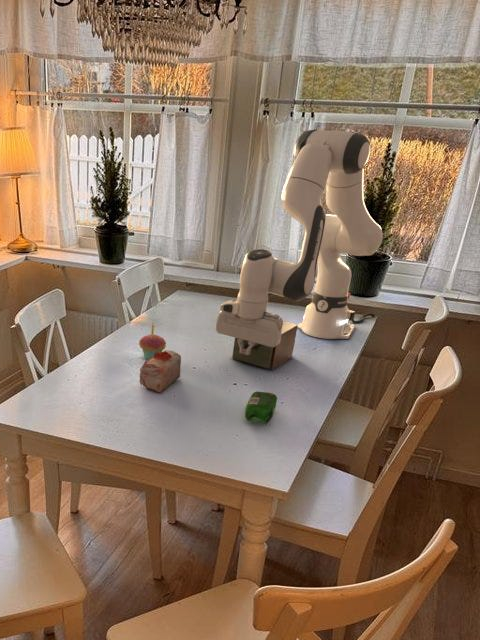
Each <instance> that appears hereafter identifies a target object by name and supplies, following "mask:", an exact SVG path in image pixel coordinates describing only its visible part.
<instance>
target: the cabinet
mask: <svg viewBox="0 0 480 640" xmlns="http://www.w3.org/2000/svg"><path fill="white" fill-rule="evenodd" d="M298 328H299V327H298V324H295V323H292V322H286V321H284V320H283V326H282V329H281V341H280V343H279V344H278V345H277V346H275V347H273V352H272V358H271V364H270V367H269V368H266V367H262V366H259V365H255V364H252V363H248V362H245V361H241V360H238V359H234V358H232V360H235V361H239V362H242V363H245V364H249V365H253V366H257V367H260V368H263V369H266V370H269V371H273V370H274V369H276V368H277V367H279V366H280V365H282V364H283V363H285V362H287V361H288V360H290V359H291V358H293V353H294V349H295V343H296V337H297V332H298Z"/></svg>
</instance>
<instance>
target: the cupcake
mask: <svg viewBox="0 0 480 640" xmlns="http://www.w3.org/2000/svg"><path fill="white" fill-rule="evenodd" d="M154 328H155V324H154V322H152V323H151V329H150V330H151V333H150V334H147V335H145V336H142V337H141V338H140V339H139V341H138V346H139V347H140V348H141V349H142V352H143V357H144V358H145V360H148V359H149V358H150V359H149V360H151V359H152V358H154V351H155V350H156V351H157V352H158V353H159V352H163V351H164V350H166V346H167V342H166V340H165V339H164V337H162V336H160V335H158V334H154V330H155V329H154Z"/></svg>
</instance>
